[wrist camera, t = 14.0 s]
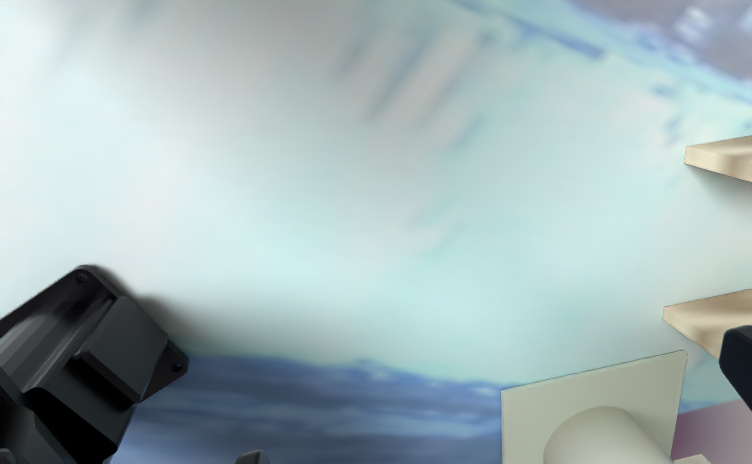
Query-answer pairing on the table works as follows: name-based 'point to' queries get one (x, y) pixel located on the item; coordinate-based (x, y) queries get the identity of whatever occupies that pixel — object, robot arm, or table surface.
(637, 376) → the sage mat
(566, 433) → the rounded top cylinder
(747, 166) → the frame
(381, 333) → the table surface
